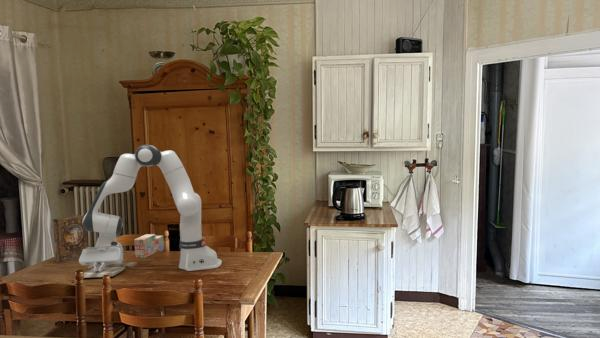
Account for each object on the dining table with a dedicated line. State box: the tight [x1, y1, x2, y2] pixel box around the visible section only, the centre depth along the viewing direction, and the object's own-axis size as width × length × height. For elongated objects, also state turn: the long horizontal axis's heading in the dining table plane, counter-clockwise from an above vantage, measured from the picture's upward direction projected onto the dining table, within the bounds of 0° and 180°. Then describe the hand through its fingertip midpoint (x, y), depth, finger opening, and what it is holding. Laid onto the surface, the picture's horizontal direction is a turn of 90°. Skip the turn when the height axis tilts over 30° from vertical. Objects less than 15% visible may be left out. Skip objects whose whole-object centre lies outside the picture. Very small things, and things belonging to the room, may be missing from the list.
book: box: [52, 214, 89, 264], centre depth 232 cm, size 16×6×25 cm, turn 144°
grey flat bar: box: [86, 261, 139, 270], centre depth 213 cm, size 24×6×2 cm, turn 94°
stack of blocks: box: [133, 233, 165, 259], centre depth 238 cm, size 21×6×12 cm, turn 169°
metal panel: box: [83, 267, 126, 279], centre depth 201 cm, size 16×17×2 cm
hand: (97, 271), depth 195 cm, fingers closed
